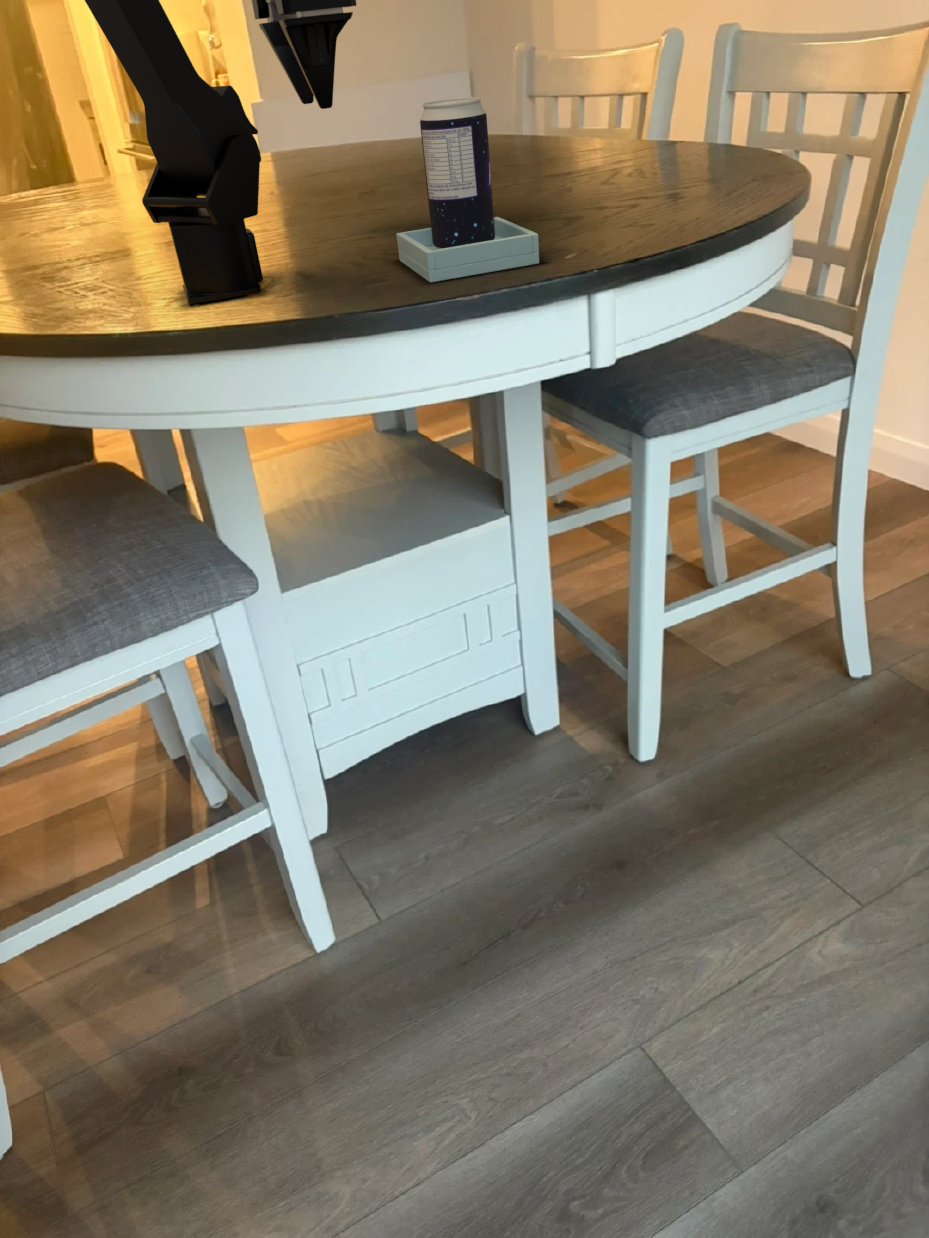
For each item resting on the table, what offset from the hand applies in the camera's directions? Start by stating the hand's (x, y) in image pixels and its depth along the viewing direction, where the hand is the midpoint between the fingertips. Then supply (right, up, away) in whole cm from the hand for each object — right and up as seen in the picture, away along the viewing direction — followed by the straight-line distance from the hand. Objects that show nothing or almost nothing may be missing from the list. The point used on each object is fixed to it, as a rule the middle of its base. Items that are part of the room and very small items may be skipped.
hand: (316, 106), depth 86 cm
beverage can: (+14, -15, -3) cm, 21 cm away
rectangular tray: (+14, -16, -3) cm, 21 cm away
